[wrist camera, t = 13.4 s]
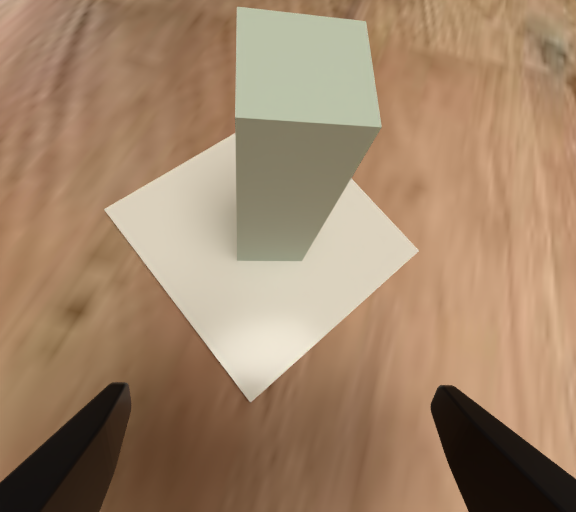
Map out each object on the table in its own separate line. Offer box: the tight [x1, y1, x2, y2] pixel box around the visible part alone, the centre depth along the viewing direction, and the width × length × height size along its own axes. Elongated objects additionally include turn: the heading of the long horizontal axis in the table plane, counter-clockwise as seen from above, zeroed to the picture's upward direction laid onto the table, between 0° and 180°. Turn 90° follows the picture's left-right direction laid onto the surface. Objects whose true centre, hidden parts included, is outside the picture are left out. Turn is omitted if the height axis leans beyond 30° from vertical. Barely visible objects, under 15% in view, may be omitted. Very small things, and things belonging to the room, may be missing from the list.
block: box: [235, 7, 381, 261], centre depth 17 cm, size 4×4×14 cm
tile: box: [104, 134, 419, 403], centre depth 24 cm, size 16×16×1 cm
